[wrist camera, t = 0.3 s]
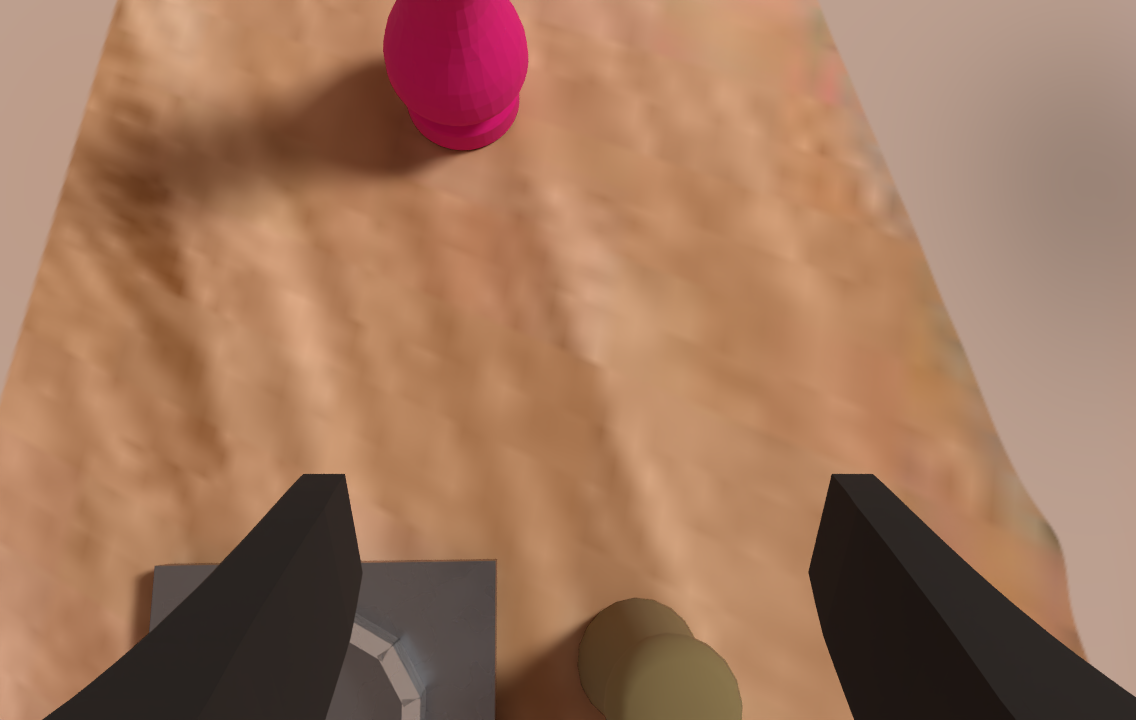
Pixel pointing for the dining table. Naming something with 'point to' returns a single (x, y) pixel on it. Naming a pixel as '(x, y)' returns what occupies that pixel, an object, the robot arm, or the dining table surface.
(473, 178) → the dining table surface
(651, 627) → the cork
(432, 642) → the plate
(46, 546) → the dining table surface
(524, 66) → the pepper mill
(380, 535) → the dining table surface
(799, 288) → the dining table surface
